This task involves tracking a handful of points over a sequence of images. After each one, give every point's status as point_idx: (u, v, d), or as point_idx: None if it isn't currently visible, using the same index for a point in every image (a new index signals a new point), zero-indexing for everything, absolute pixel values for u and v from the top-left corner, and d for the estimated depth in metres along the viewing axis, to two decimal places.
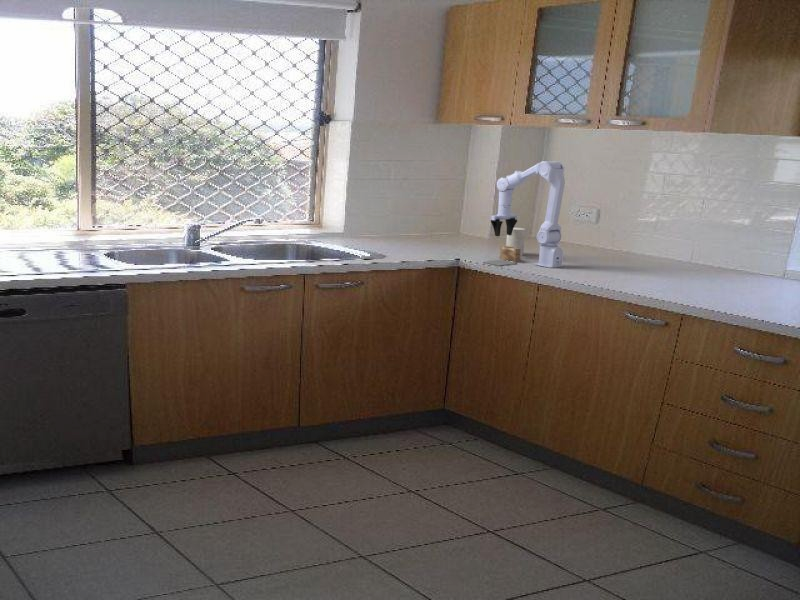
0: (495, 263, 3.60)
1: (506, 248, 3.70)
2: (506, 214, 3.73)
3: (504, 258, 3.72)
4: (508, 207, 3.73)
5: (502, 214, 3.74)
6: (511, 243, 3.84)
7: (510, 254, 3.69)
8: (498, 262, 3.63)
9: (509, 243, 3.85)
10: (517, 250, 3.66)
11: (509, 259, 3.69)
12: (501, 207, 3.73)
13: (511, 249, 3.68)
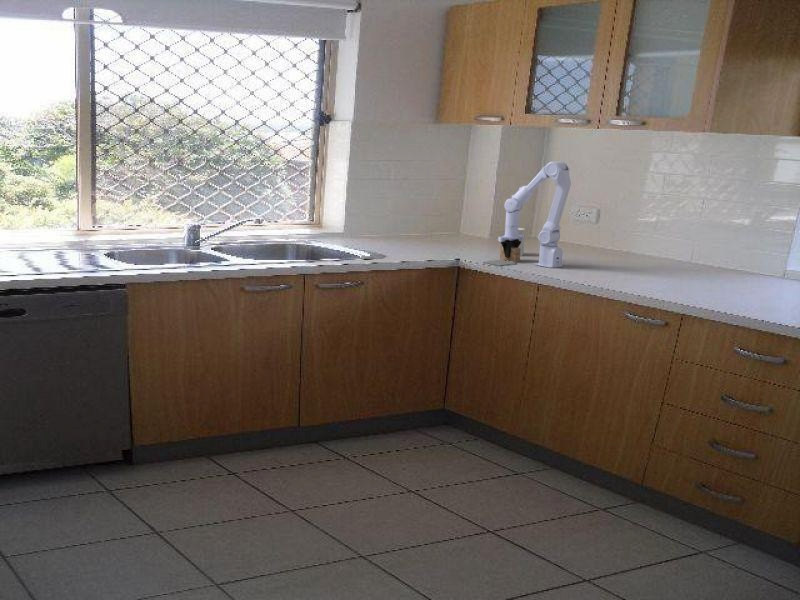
0: (495, 263, 3.60)
1: None
2: (513, 235, 3.66)
3: (504, 258, 3.72)
4: (515, 228, 3.66)
5: (509, 235, 3.66)
6: None
7: (510, 254, 3.69)
8: (498, 262, 3.63)
9: None
10: (517, 250, 3.66)
11: (509, 259, 3.69)
12: (508, 228, 3.66)
13: (511, 249, 3.68)
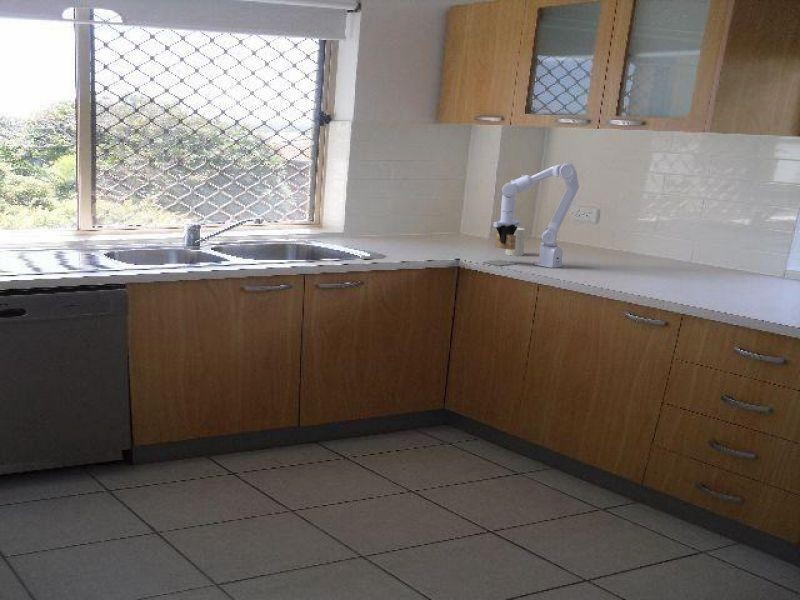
0: (495, 263, 3.60)
1: None
2: (509, 220, 3.58)
3: (499, 245, 3.64)
4: (511, 213, 3.58)
5: (505, 220, 3.59)
6: None
7: None
8: (498, 262, 3.63)
9: None
10: (512, 237, 3.59)
11: (504, 246, 3.62)
12: (504, 213, 3.58)
13: (506, 236, 3.60)
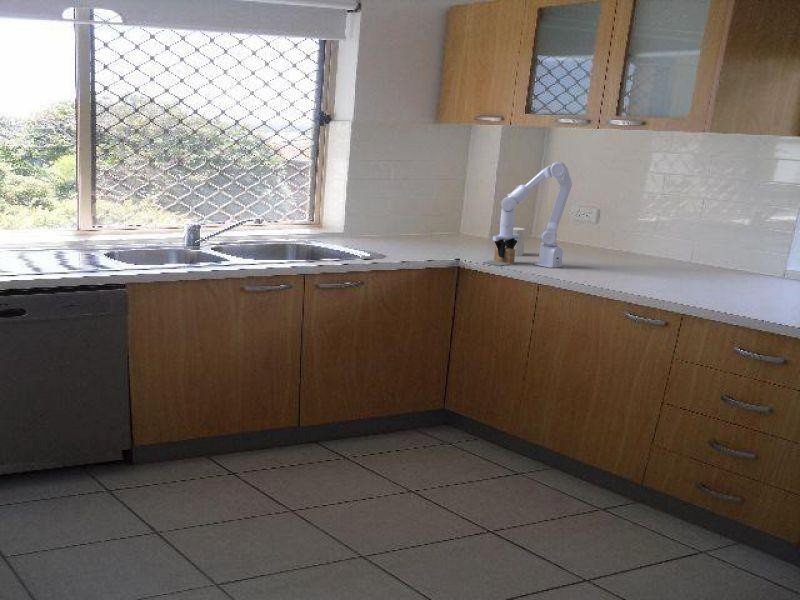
0: (495, 263, 3.60)
1: None
2: (508, 235, 3.60)
3: (498, 259, 3.65)
4: (510, 227, 3.59)
5: (504, 235, 3.60)
6: None
7: (504, 255, 3.62)
8: (498, 262, 3.63)
9: None
10: (511, 251, 3.60)
11: (503, 260, 3.63)
12: (503, 227, 3.60)
13: (505, 250, 3.62)
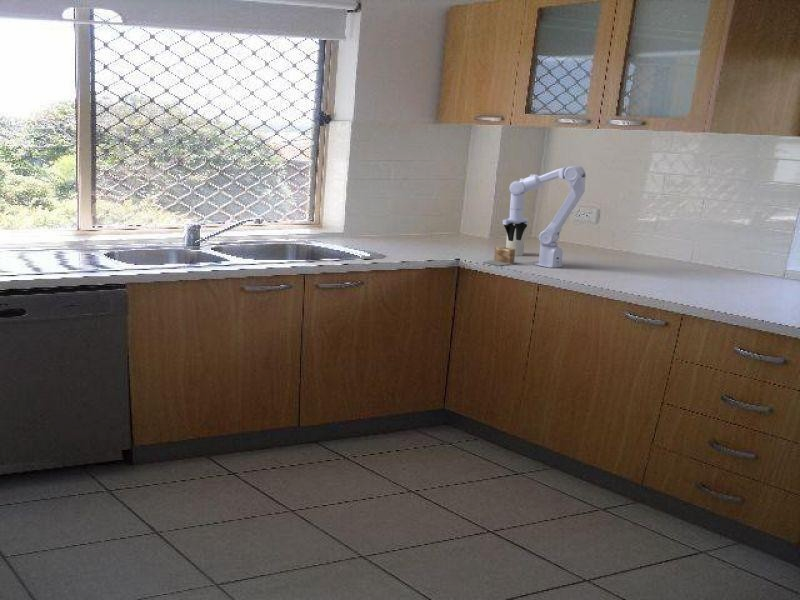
0: (495, 263, 3.60)
1: (500, 249, 3.64)
2: (518, 218, 3.62)
3: (498, 259, 3.65)
4: (520, 211, 3.61)
5: (514, 218, 3.62)
6: (511, 243, 3.84)
7: (504, 255, 3.62)
8: (498, 262, 3.63)
9: (509, 243, 3.85)
10: (511, 251, 3.60)
11: (503, 260, 3.63)
12: (513, 211, 3.62)
13: (505, 250, 3.62)
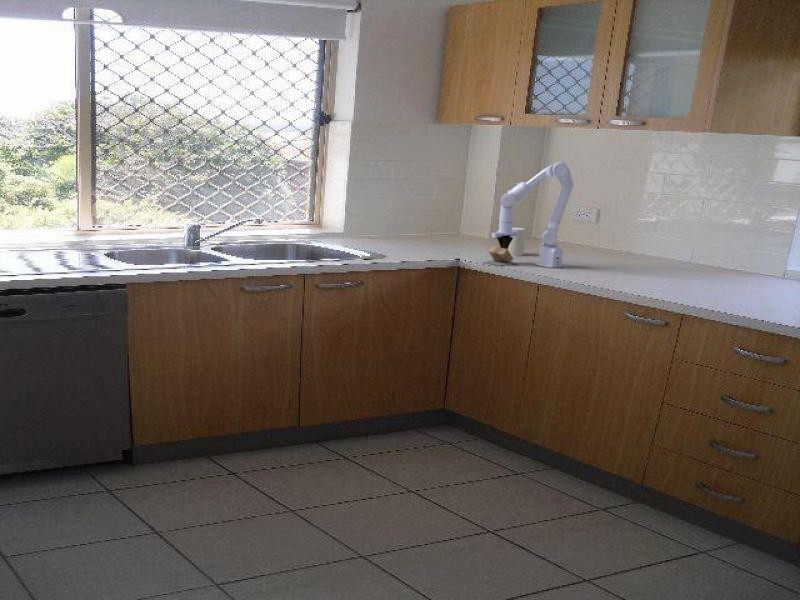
0: (495, 263, 3.60)
1: (494, 253, 3.62)
2: (507, 231, 3.59)
3: (497, 260, 3.65)
4: (509, 224, 3.59)
5: (503, 231, 3.59)
6: (511, 243, 3.84)
7: (501, 257, 3.61)
8: (498, 262, 3.63)
9: None
10: (505, 254, 3.58)
11: (502, 261, 3.63)
12: (502, 224, 3.59)
13: (499, 254, 3.60)
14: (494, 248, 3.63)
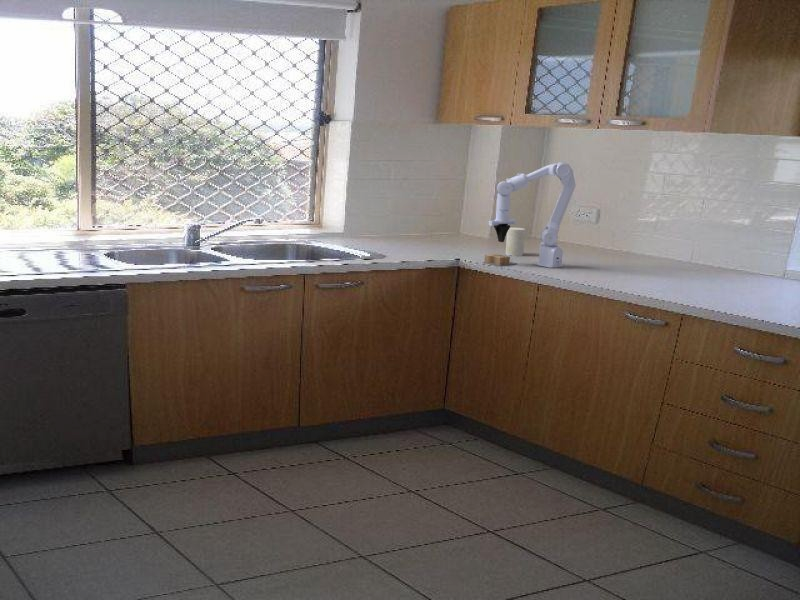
0: None
1: (491, 262, 3.61)
2: (504, 219, 3.56)
3: None
4: (506, 212, 3.56)
5: (500, 219, 3.57)
6: (511, 243, 3.84)
7: None
8: None
9: (509, 243, 3.85)
10: (501, 262, 3.57)
11: None
12: (499, 212, 3.56)
13: (496, 263, 3.59)
14: (488, 257, 3.62)
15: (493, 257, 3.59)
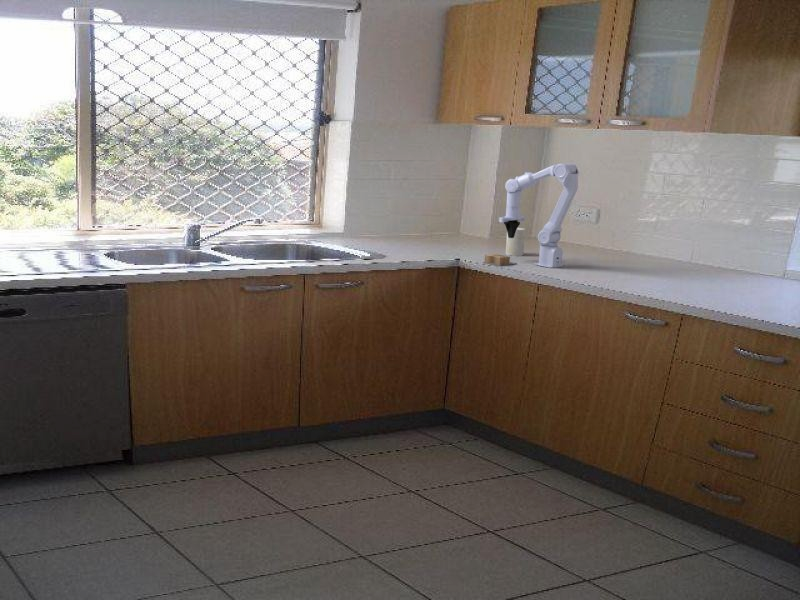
0: None
1: (491, 262, 3.61)
2: (514, 216, 3.66)
3: None
4: (516, 209, 3.66)
5: (510, 216, 3.66)
6: (511, 243, 3.84)
7: None
8: None
9: (509, 243, 3.85)
10: (501, 262, 3.57)
11: None
12: (509, 209, 3.66)
13: (496, 263, 3.59)
14: (488, 257, 3.62)
15: (493, 257, 3.59)
